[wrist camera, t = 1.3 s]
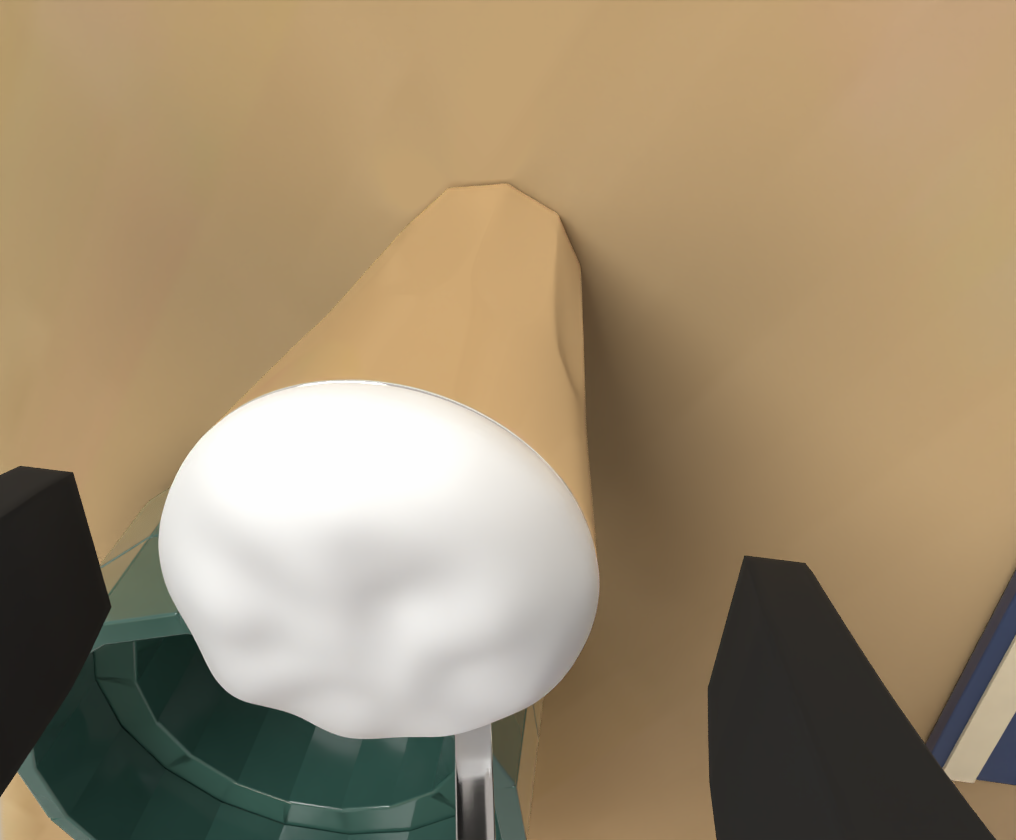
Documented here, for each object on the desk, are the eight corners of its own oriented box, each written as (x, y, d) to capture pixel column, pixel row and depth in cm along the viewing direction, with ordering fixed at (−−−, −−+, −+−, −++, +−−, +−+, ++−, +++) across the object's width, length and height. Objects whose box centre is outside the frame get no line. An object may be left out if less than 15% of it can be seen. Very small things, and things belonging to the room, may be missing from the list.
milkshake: (454, 436, 18) (292, 948, 9) (321, 201, 15) (-54, 612, 7) (666, 369, 16) (694, 905, 8) (557, 97, 14) (434, 463, 6)
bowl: (535, 767, 24) (512, 972, 19) (171, 714, 24) (70, 899, 20) (569, 468, 18) (547, 664, 14) (94, 411, 19) (-71, 580, 14)
